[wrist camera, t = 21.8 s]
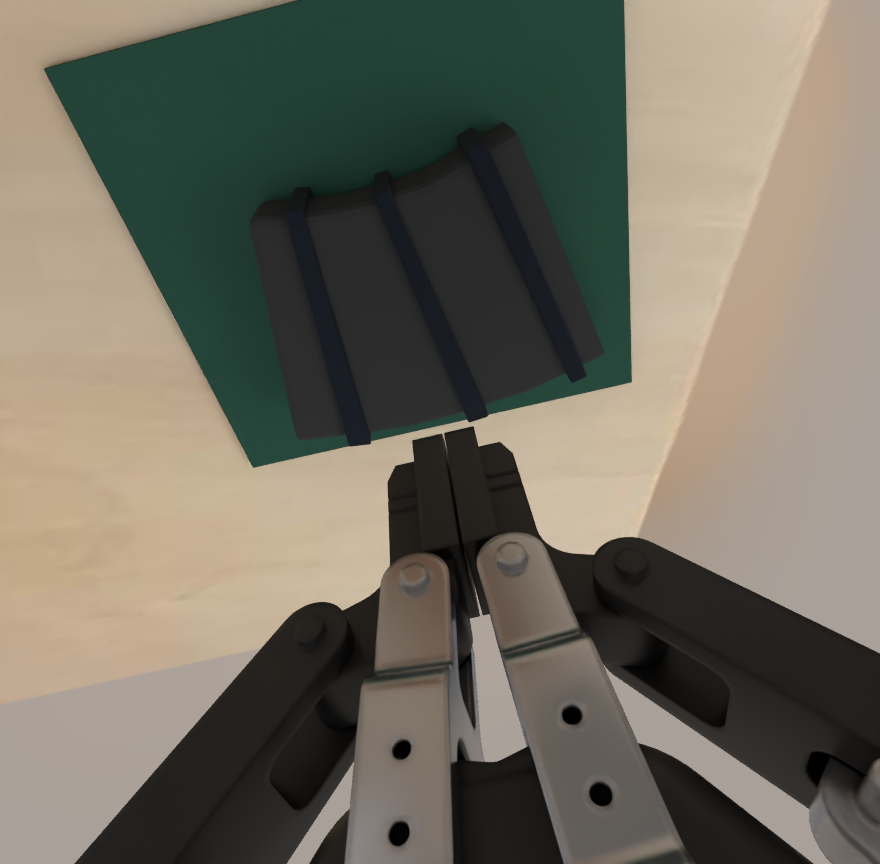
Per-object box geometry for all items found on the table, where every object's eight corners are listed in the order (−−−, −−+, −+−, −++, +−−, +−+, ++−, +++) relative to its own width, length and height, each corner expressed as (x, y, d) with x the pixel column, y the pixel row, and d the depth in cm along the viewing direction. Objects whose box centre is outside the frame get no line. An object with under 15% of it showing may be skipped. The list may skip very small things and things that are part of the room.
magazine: (339, 494, 30) (611, 365, 27) (153, 281, 23) (494, 73, 20) (342, 451, 33) (587, 330, 30) (179, 251, 26) (479, 66, 23)
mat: (49, 67, 22) (42, 68, 22) (618, -85, 21) (622, -88, 21) (254, 462, 34) (252, 468, 34) (628, 378, 33) (631, 382, 32)
